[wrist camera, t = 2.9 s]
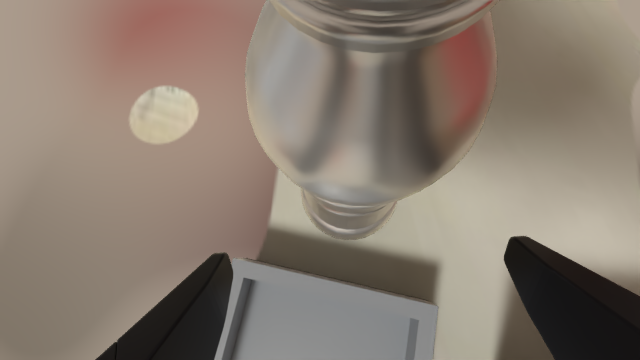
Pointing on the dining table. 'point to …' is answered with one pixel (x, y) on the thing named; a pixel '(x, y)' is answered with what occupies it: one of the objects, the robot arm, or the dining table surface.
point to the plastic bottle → (368, 99)
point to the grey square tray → (320, 318)
